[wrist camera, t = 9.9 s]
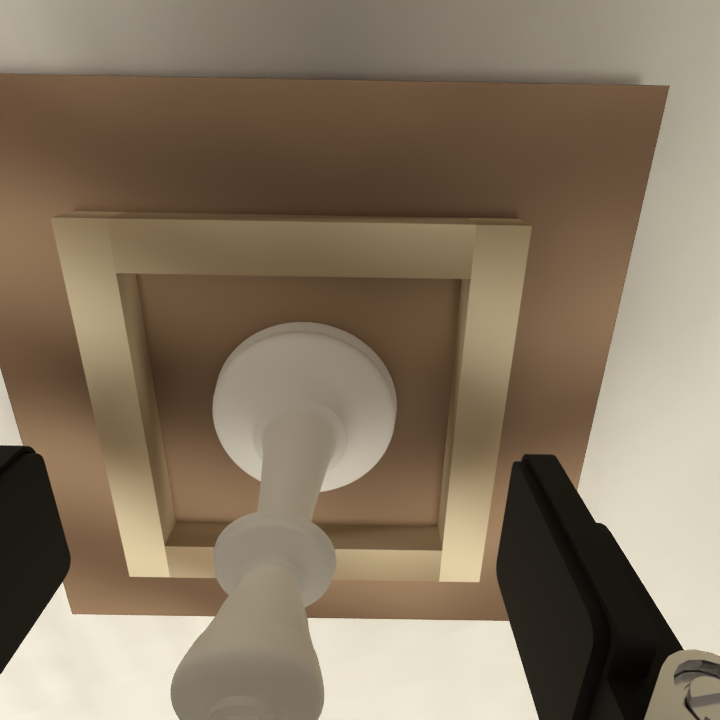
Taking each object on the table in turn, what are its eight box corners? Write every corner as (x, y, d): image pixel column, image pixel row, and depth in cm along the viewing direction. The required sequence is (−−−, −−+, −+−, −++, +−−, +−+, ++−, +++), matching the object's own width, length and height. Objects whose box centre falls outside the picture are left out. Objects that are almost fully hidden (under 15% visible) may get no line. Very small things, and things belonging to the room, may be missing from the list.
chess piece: (225, 480, 15) (15, 1017, 6) (205, 320, 13) (-159, 757, 4) (393, 480, 15) (446, 1018, 6) (399, 321, 13) (490, 758, 4)
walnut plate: (-45, 77, 12) (-128, 66, 10) (641, 89, 12) (697, 81, 10) (89, 585, 18) (56, 640, 16) (536, 592, 18) (557, 648, 16)
